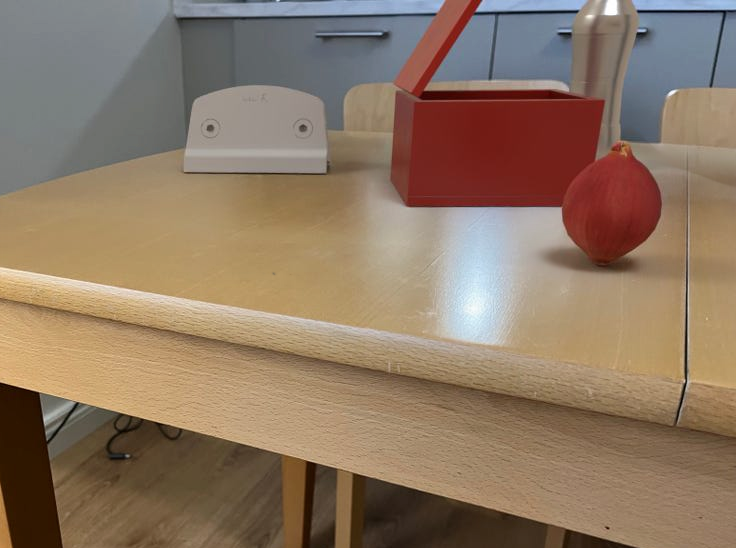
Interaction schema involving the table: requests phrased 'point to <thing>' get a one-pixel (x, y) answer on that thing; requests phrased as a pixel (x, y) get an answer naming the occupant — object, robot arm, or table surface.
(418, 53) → the box door
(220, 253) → the table surface
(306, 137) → the white curved plastic bracket
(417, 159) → the open red box
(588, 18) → the silver metal bottle
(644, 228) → the onion
